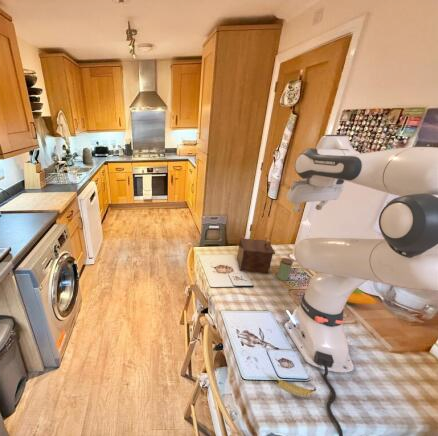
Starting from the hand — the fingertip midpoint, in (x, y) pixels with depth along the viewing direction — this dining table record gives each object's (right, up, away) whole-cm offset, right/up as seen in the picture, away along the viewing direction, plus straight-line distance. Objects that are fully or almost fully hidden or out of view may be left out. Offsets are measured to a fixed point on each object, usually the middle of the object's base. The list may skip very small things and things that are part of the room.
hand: (307, 210), depth 95 cm
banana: (-23, -55, -27) cm, 65 cm away
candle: (+19, -26, +36) cm, 48 cm away
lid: (-9, -18, +25) cm, 33 cm away
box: (-9, -29, +30) cm, 43 cm away
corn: (+20, -40, +6) cm, 45 cm away
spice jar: (+2, -33, +21) cm, 39 cm away
